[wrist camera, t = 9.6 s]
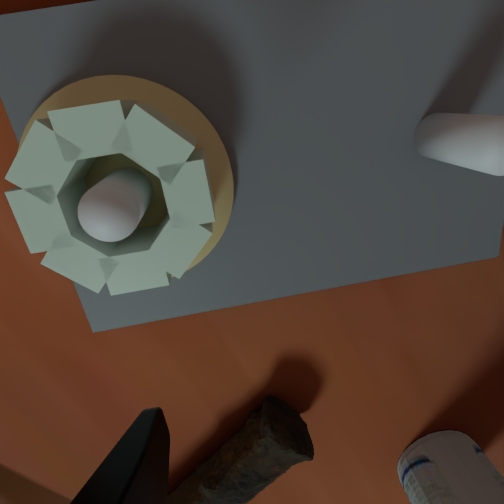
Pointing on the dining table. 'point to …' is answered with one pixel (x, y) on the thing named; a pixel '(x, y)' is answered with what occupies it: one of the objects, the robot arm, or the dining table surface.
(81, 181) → the ring
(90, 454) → the dining table surface
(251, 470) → the hand tool
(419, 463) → the spray can
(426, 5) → the rod board
